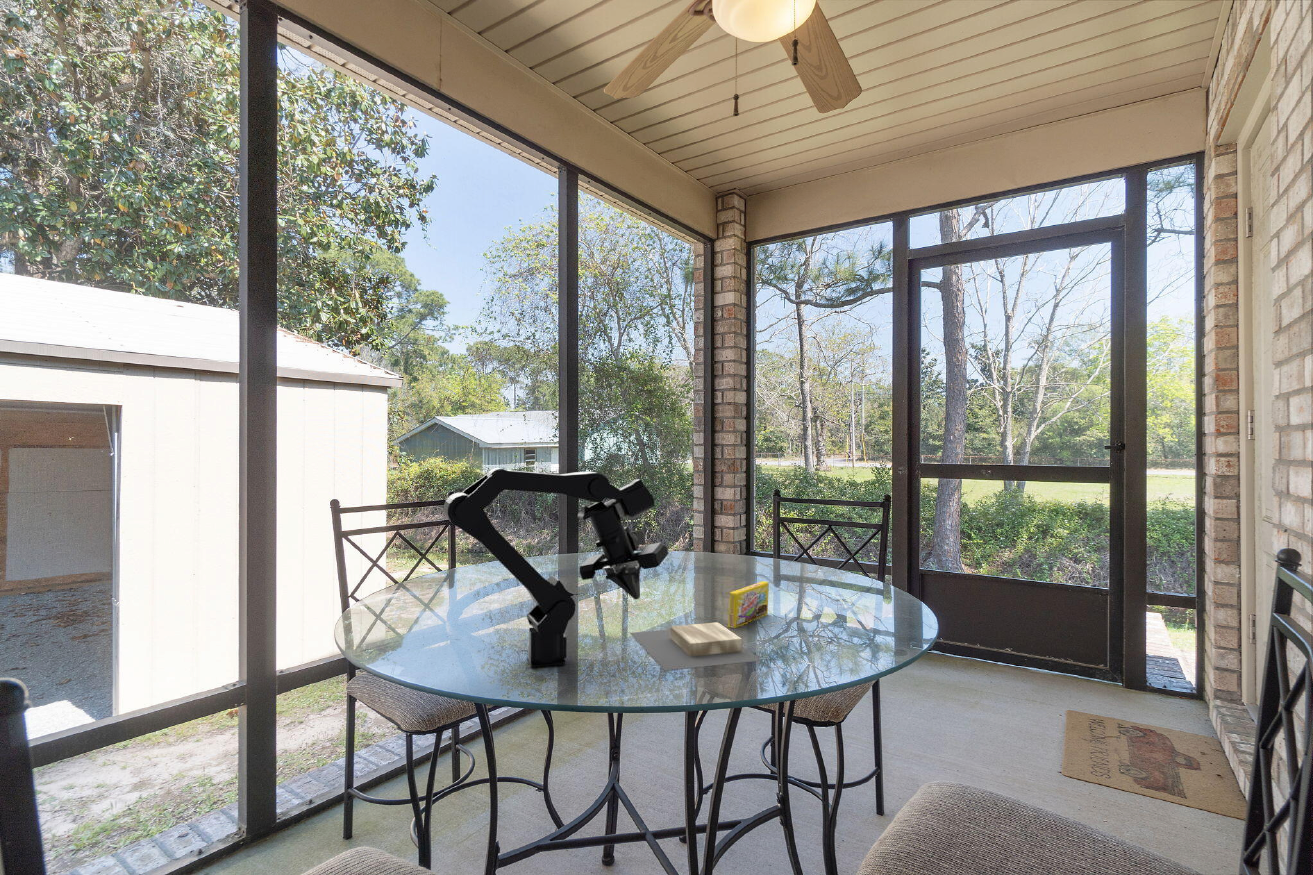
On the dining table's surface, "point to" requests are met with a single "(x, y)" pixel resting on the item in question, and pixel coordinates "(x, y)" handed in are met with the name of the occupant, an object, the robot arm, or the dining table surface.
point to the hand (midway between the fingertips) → (637, 598)
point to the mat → (677, 658)
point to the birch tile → (705, 639)
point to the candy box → (748, 604)
